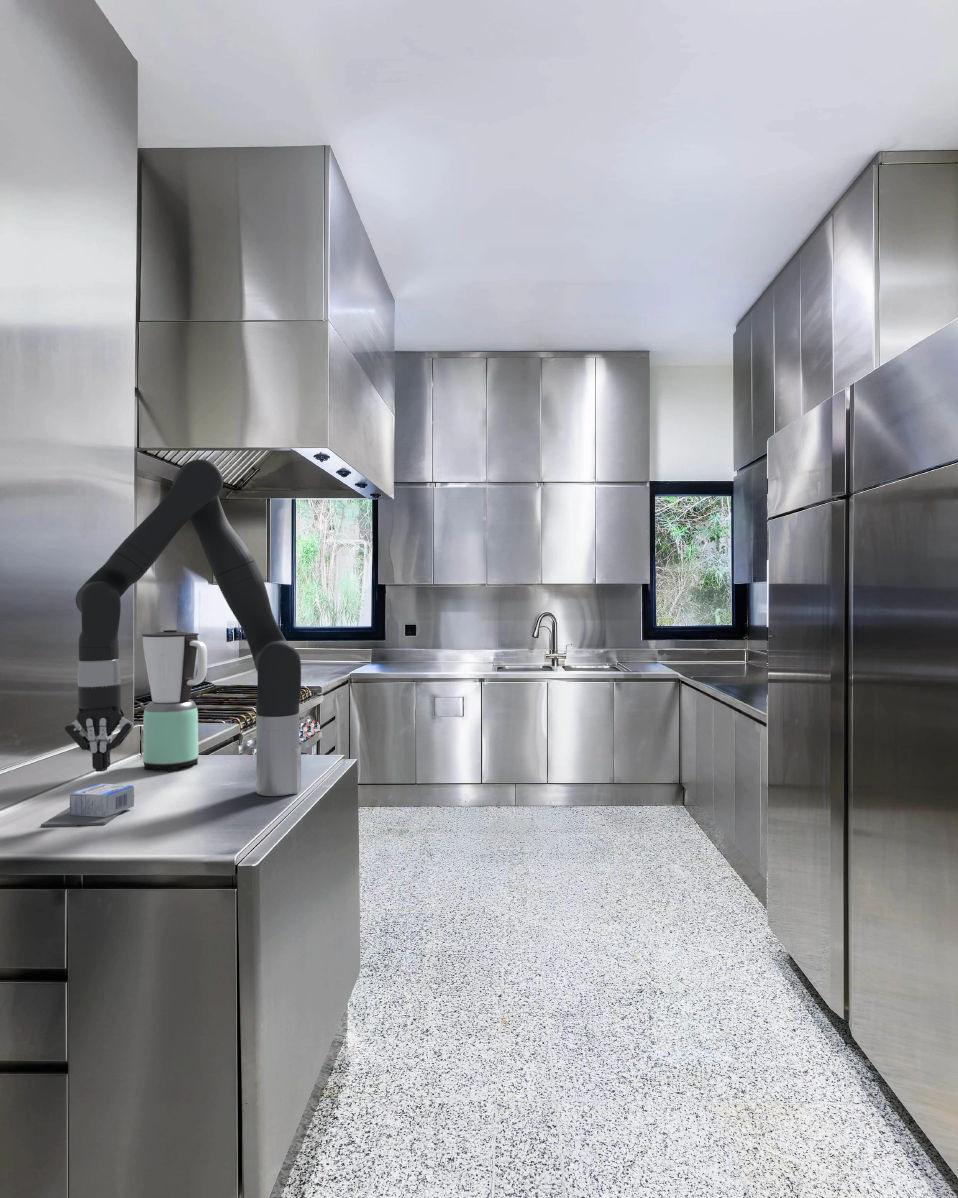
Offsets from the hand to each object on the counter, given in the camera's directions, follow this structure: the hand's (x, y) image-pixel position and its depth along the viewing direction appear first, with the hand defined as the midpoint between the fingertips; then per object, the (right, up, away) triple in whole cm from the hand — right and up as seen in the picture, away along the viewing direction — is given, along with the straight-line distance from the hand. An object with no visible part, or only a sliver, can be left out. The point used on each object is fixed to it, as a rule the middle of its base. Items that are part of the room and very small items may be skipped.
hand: (101, 770), depth 143 cm
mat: (-3, -9, 0) cm, 9 cm away
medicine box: (+4, -6, +1) cm, 7 cm away
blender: (-4, -9, +43) cm, 44 cm away
